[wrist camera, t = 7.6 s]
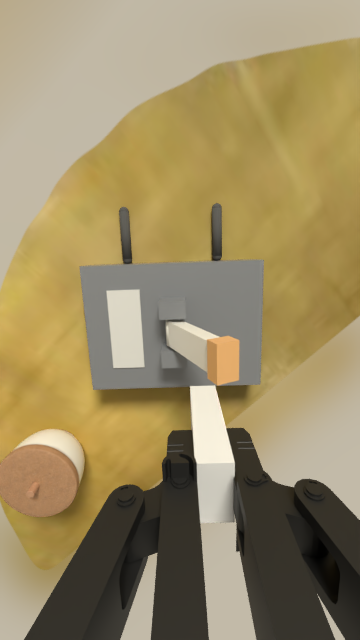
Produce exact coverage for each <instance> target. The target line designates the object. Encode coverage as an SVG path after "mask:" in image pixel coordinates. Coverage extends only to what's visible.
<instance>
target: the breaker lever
mask: <svg viewBox="0 0 360 640" xmlns="http://www.w3.org/2000/svg"><path fill="white" fill-rule="evenodd" d="M165 321H166V342H167V346H169V347H171V348H172V349H174V350H175V351H177V352H178V353H180V354H181V355H182V356H184V357H185V358H187V359H188V360H190V361H191V362H193V363H194V364H196V365H197V366H198V367H200V368H201V369H203V370H204V371H206V372H207V375H208V379H209V380H210V381H212V382H213V383H214V384H216V385H217V386H218V385H222V384H226V383H230V382H234V381H238V380H239V340H238V339H235V338H233V337H230V336H224V337H219V336H216V335H214V334H212V333H210V332H207V331H205V330H203V329H201V328H198V327H196V326H194V325H191V324H189V323H187V322H185V321H182V320H181V319H174V320H165Z"/></svg>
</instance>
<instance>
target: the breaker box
mask: <svg viewBox="0 0 360 640" xmlns="http://www.w3.org/2000/svg"><path fill="white" fill-rule="evenodd" d="M263 270H264V260H258V259H246V260H218V261H191V262H163V263H135V264H108V265H88V266H80V275H81V284H82V293H83V302H84V311H85V320H86V329H87V338H88V347H89V357H90V366H91V375H92V384H93V390H100V389H131V388H163V387H190V386H214V385H215V386H217V385H216V384H214V383H213V382H212V381H210V380H209V379H208V375H207V372H206V371H204V370H203V369H201V368H200V367H198V366H197V365H196V364H194V363H193V362H191V361H190V360H188V359H187V358H185V357H184V356H182V355H181V354H180V353H178V352H177V351H175V350H174V349H172V348H171V347H169V346H167V342H166V321H165V320H174V319H181V320H182V321H185V322H187V323H189V324H191V325H194V326H196V327H198V328H201V329H203V330H205V331H207V332H210V333H212V334H214V335H216V336H219V337H224V336H230V337H233V338H235V339H238V340H239V380H238V381H234V382H230V383H226V384H222V385H218V386H227V385H258V384H260V378H261V342H262V306H263Z"/></svg>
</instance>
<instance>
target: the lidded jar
mask: <svg viewBox="0 0 360 640" xmlns="http://www.w3.org/2000/svg"><path fill="white" fill-rule="evenodd" d="M84 465H85V458H84V452H83V449H82V446H81V444H80V443H79V441H78V440H77V439H76V438H75V437H74V436H73V435H72V434H71V433H69V432H67V431H65V430H60V429H46V430H41V431H39V432H36V433H34V434H32V435H30V436H29V437H27V438H26V439H25V440H23V441H22V442H21V443H20V444H19V445H18V446H17V447H16V448H15V449H14V450H13V451H12V452H11V453H10V454H9V455H8V456H7V457H6V458H5V459H4V460H3V461H2V463H1V464H0V495H1V496H2V498H3V499H4V501H5V502H6V503H7V504H8V505H9V506H11V507H12V508H13V509H15V510H17V511H18V512H20V513H23V514H25V515H29V516H35V517H47V516H52V515H55V514H58V513H60V512H62V511H63V510H65V509H66V508H67V507H68V506H70V504H71V503H72V502H73V500H74V498H75V496H76V494H77V491H78V488H79V485H80V482H81V479H82V476H83V472H84Z"/></svg>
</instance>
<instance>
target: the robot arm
mask: <svg viewBox="0 0 360 640" xmlns="http://www.w3.org/2000/svg"><path fill="white" fill-rule="evenodd" d="M190 402H191V430H178V431H172V432H171V434H170V435H169V436H168V444H167V456H166V457H165V458H164V460H163V462H162V472H163V481H162V482H161V483H160V484H159V485H158V486H156V487H155V488H152V489H150V490H147V491H144V492H143V490H142V489H140V488H139V487H138V486H135V485H124V486H120V487H118V488H117V489H115V490H114V491H113V492H112V493H111V494H110V495H109V497H108V499H107V500H106V502H105V504H104V505H103V507H102V509H101V510H100V512H99V514H98V516H97V517H96V519H95V521H94V522H93V524H92V526H91V527H90V529H89V531H88V532H87V534H86V536H85V538H84V539H83V541H82V543H81V544H80V546H79V548H78V549H77V551H76V553H75V555H74V556H73V558H72V560H71V561H70V563H69V565H68V566H67V568H66V570H65V571H64V573H63V575H62V577H61V578H60V580H59V582H58V583H57V585H56V587H55V588H54V590H53V592H52V593H51V595H50V597H49V598H48V600H47V602H46V604H45V605H44V607H43V609H42V610H41V612H40V614H39V615H38V617H37V619H36V621H35V622H34V624H33V625H32V627H31V629H30V631H29V632H28V634H27V636H26V637H25V639H24V640H120V638H121V635H122V632H123V630H124V626H125V624H126V621H127V618H128V615H129V612H130V609H131V606H132V603H133V600H134V598H135V595H136V592H137V588H138V585H139V583H140V580H141V577H142V574H143V571H144V568H145V566H146V562H147V559H148V556H149V555H152V554H155V553H157V552H158V554H157V567H156V580H155V593H154V605H153V618H152V631H151V640H209V637H208V623H207V609H206V596H205V582H204V568H203V554H202V540H201V528H200V523H222V522H234V513H235V518H236V523H237V537H236V539H237V540H236V551H240V556H241V561H242V565H243V572H244V577H245V581H246V587H247V592H248V597H249V602H250V608H251V613H252V618H253V623H254V629H255V634H256V639H257V640H335V638H334V636H333V633H332V631H331V628H330V625H329V623H328V620H327V618H326V616H325V613H324V611H323V608H322V605H321V603H320V600H319V598H318V596H319V597H320V599H321V601H322V602H323V604H324V605H325V607H326V608H327V610H328V612H329V614H330V615H331V617H332V618H333V620H334V622H335V623H336V625H337V627H338V628H339V630H340V631H341V633H342V635H343V636H344V638H345V640H360V520H359V519H357V517H356V516H355V515H354V514H353V513H352V512H351V511H350V510H349V509H348V508H347V507H346V506H345V504H344V503H343V502H342V501H341V500H340V499H339V498H338V497H337V496H336V495H335V494H334V493H333V492H332V491H331V490H330V489H329V488H328V487H327V486H326V485H324V484H323V483H321V482H318V481H316V480H312V479H302V480H300V481H298V482H297V483H296V484H295V487H289V486H284V485H281V484H278V483H276V482H274V481H272V479H271V478H270V476H269V475H268V474H267V473H266V472H265V471H263V468H262V466H261V463H260V460H259V458H258V455H257V452H256V450H255V448H254V445H253V443H252V440H251V437H250V434H249V433H248V432H247V431H246V430H245V429H244V428H226V426H225V422H224V418H223V414H222V411H221V407H220V403H219V399H218V395H217V391H216V387H215V385H214V386H190ZM316 592H317V593H316ZM317 594H318V595H317Z"/></svg>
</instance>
